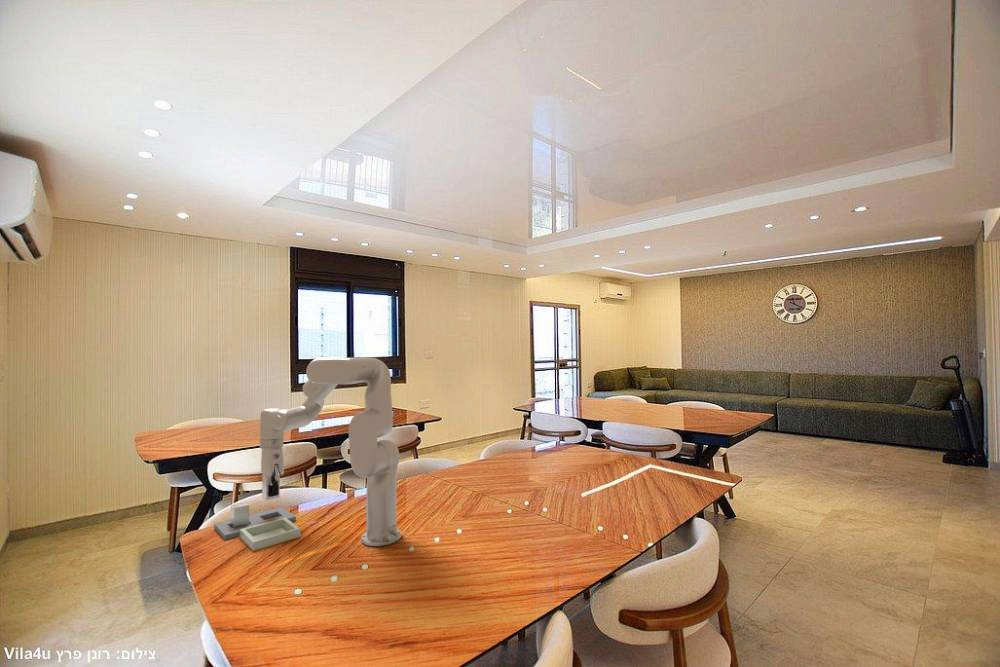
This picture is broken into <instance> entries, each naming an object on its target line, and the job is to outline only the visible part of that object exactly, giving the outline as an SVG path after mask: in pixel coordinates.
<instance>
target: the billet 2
mask: <svg viewBox="0 0 1000 667" xmlns="http://www.w3.org/2000/svg"><path fill="white" fill-rule="evenodd" d="M279 473H280V472H279ZM272 476H275V474H272ZM261 477H262V479H261V480H262V483H261V484H262V487H261V491H262V493H261V498H262V499H263V500H265V501H271V500H274V499H280V498H281V496H280V490H281V488H280V486H281V485H280V484H281V483H280V481H281V480H280V479H281V478H280V479H279V495H277V496H273V497H269V496H268V492H269V485H270V481H269V477H268V476H267V474H265V473H264V472H263V473H262V476H261ZM274 478H275V477H274ZM274 478H272V480H273V479H274Z"/></svg>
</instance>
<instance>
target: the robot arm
mask: <svg viewBox="0 0 1000 667" xmlns="http://www.w3.org/2000/svg"><path fill="white" fill-rule="evenodd" d="M305 371H306V372H305V373H306V377H307V379H308V380H307V381H305V383H304V384H303V385H302V392H303V394H304V395H305V397H306V398H307V399H306V400H305V401H304V402H303V403H302V404H301V405H300V406H295V407H291V408H287V409H286V408H285V409H283V408H280V407H269V408H264V409H262V410H261V412H260V414H259V415H260V417H259V418H260V421H259V422H260V423H259V425H260V427H259V449H260V450H261V457H260V459H261V460H260V463H261V464H260V467H261V468H260V469H261V473H262V474H263V472H264V473H265V474H267V476H268V477H269V481H270V485H269V492H268V496H269V497H273V496H277V495H279V479H281V476H283V475H284V473H285V468H284V467H285V466H284V451H283V448H284V432H288V431H293V430H296V429H300V428H304V427H307V426H308V425H310V423H312V422H314V420H315V419H316V418H317V417H318V416H319V414H320V413H322V410H323V407H324V405H325V399H326V398H327V397H328V396H329V395H330V394H331V393H332V392H333V390H334V389H335V388H336V387H337V386H338V385H354V384H361V383H367V386H366V389H365V392H364V404H365V406H364V408H365V409H364V410H362V411H359V412H357V413H356V414H354V415H353V417H352V418H351V420H350V422H349V426H348V443H349V459H350V465H351V469H352V471H353V473H354V474H355V475H356V476H357V477H359V478H364V479H367V480H366V491H365V492H366V498H365V499H366V503H365V504H366V508H365V509H366V515H365V516H366V517H365V518H366V520H365V521H366V522H365V524H366V528H365V530H366V531H365V532H364V533H363V534H362V535H361V542H362V544H364V545H366V546H370V547H384V546H388V545H391V544H393V543H396V542H398V541H400V539H401V537H402V531H401V530H400V529H399V528H398V525H397V475H398V466H399V460H400V451H399V448H398V446H397V445H396V443H394V442H393V441H392V440H389V439H381V440H378V438H382V437H383V436H386V435H388V434H389V433H390V432H391V431H392V429H393V427H394V417H393V403H392V402H393V400H392V399H393V398H392V379H391V371H390V369H389V368H388V366H387V365H386V364H385V362H384V361H382V360H380V359H379V358H375V357H369V356H364V357H363V356H359V357H335V356H334V357H331V356H330V357H317V358H314V359H313V360H311V361H310V362H309V364H307V367H306V370H305ZM279 472H280V473H279ZM272 474H275V476H272ZM274 477H275V478H274ZM272 478H274V479H273V480H272Z"/></svg>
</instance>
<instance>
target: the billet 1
mask: <svg viewBox="0 0 1000 667" xmlns="http://www.w3.org/2000/svg"><path fill="white" fill-rule="evenodd" d="M249 515H250V504H249V503H247V502H246V501H243V502H239V503H233V504H230V520H231V529H235V528H238V527H242V526H246V525H249Z"/></svg>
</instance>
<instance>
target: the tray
mask: <svg viewBox="0 0 1000 667" xmlns="http://www.w3.org/2000/svg"><path fill="white" fill-rule="evenodd" d="M301 530H302V529H301V527H299V526H298V525H296V524H295V523H293V522H291V521H289V520H288V519H287V518H281V519H277V520H274V521H270V522H266V523H262V524H258V525H255V526H251V527H247V528H243V529H240V536H239V538H240V539H241V540H242V541H243V543H244V544H245V545H246V546H248V548H249V549H250V550H251V551H252V552H254V551H257V550H260V549H264V548H266V547H271V546H274V545H277V544H281V543H283V542H287V541H292V540H294V539H298V538H301Z"/></svg>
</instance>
